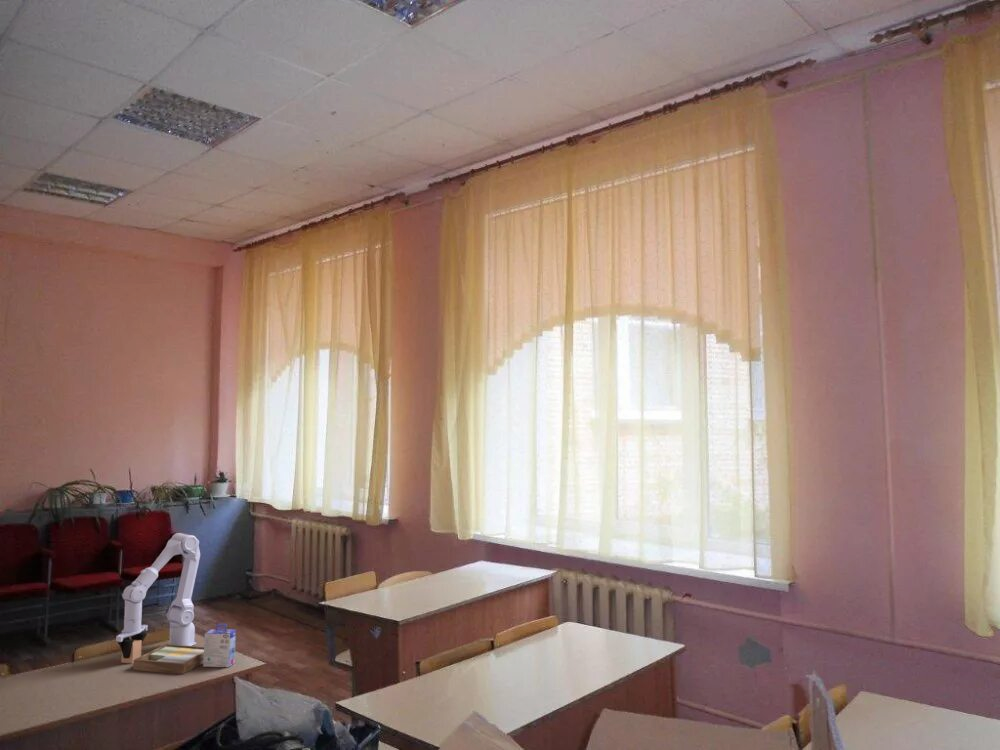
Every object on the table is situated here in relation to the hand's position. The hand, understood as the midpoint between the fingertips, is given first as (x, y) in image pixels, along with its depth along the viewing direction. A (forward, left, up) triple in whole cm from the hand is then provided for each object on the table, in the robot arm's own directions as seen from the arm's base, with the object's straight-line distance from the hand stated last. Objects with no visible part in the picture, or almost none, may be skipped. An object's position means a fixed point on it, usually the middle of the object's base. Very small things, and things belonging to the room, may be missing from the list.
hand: (131, 655), depth 260 cm
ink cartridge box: (-3, +34, -2) cm, 34 cm away
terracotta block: (0, 0, -2) cm, 2 cm away
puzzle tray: (-1, +17, -2) cm, 17 cm away
